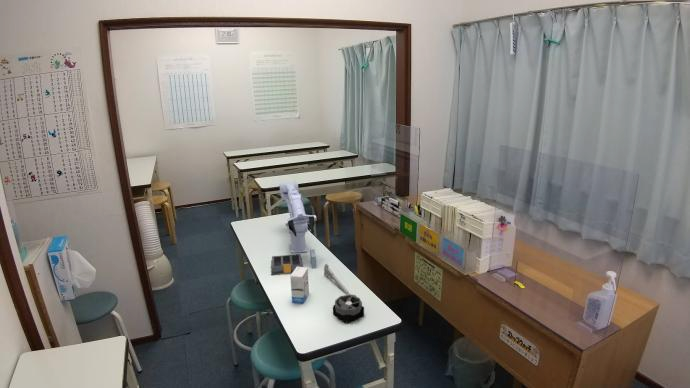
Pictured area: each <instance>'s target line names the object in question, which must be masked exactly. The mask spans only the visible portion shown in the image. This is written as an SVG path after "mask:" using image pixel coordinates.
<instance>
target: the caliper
mask: <svg viewBox="0 0 690 388" xmlns="http://www.w3.org/2000/svg"><path fill="white" fill-rule="evenodd" d="M323 275H324V276H325V277H326V278H330V279H331V280H333V281H334V283H335V284H336V285H337V286H338V287H339V289H341V291H342V292H343V294H345V295H349V294H350V293H349V292H350V291H349V290H348V289H347V288H346V287H345V285H343V284H342V282H341V281H340V280H339V279H338V278H337V276H336V275H335V274H334V272H333V271H332V269H331V268H329V265H328V263H325V264H324V267H323Z"/></svg>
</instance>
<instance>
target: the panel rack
mask: <svg viewBox="0 0 690 388" xmlns="http://www.w3.org/2000/svg"><path fill="white" fill-rule="evenodd" d="M302 259H303V258H302V257H301V253H297V254H296V253H293V254H284V255H283V254H282V255H272V256H271V261H270V262H271V263H270V267H271V269H270V271H271V272H270V275H271V276H278V275H280V276H281V275H288V274H290V275H291V274H292V273H293V271H294V270H295V269H296V267H304V265H303V260H302Z"/></svg>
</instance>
